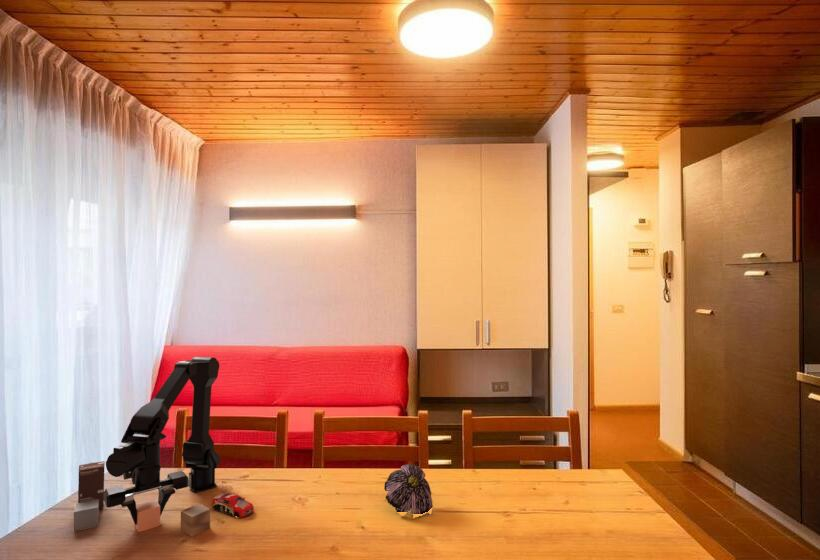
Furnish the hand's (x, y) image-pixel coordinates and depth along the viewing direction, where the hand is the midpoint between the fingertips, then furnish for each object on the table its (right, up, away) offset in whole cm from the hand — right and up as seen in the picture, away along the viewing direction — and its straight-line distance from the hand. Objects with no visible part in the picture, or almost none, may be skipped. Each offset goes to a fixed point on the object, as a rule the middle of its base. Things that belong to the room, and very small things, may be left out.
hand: (147, 520), depth 123 cm
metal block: (+13, -1, -2) cm, 14 cm away
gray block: (-16, -1, 0) cm, 16 cm away
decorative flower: (+68, -2, +11) cm, 69 cm away
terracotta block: (0, -1, 0) cm, 1 cm away
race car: (+19, -2, +8) cm, 21 cm away
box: (-20, -1, +8) cm, 22 cm away
